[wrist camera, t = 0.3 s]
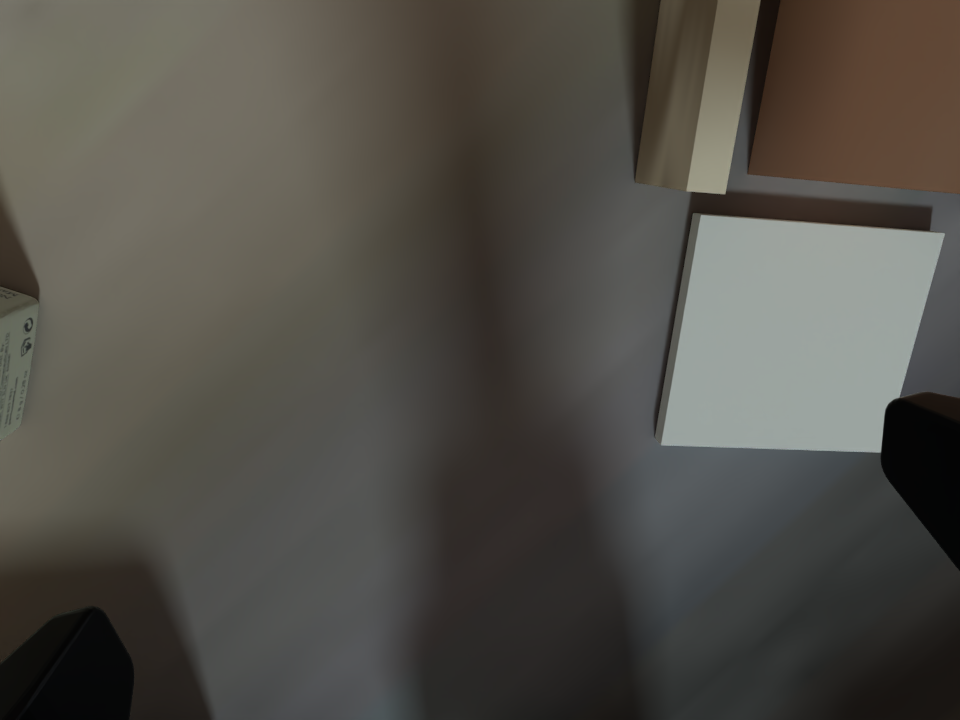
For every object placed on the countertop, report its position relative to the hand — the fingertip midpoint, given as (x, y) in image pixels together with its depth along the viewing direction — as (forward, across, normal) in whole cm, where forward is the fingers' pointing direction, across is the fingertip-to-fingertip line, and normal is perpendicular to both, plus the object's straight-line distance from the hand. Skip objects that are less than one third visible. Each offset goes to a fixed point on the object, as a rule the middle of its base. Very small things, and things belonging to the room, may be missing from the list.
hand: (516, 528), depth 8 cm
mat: (+13, -11, +6) cm, 18 cm away
